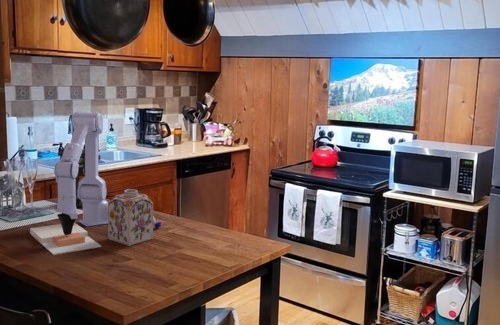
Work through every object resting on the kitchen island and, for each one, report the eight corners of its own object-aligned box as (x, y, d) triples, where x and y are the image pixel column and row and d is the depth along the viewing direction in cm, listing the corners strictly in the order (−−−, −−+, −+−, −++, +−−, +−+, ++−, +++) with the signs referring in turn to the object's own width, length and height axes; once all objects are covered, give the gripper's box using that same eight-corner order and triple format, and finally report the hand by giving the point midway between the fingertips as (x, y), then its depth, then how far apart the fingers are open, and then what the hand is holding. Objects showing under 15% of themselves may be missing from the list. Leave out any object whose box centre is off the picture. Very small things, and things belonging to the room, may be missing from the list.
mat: (88, 237, 188) (88, 236, 188) (101, 246, 179) (101, 245, 179) (42, 244, 179) (42, 243, 178) (53, 255, 169) (53, 253, 169)
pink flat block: (78, 237, 186) (78, 232, 186) (84, 242, 181) (84, 236, 181) (53, 241, 181) (52, 236, 180) (58, 246, 176) (58, 241, 176)
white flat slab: (74, 227, 199) (73, 222, 199) (87, 237, 189) (87, 231, 188) (30, 233, 190) (29, 228, 189) (41, 244, 179) (41, 238, 179)
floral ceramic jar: (132, 232, 196) (132, 185, 193) (154, 239, 190) (154, 190, 187) (106, 239, 187) (106, 190, 184) (128, 246, 180) (128, 195, 177)
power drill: (99, 207, 229) (99, 151, 225) (59, 208, 226) (58, 150, 222) (101, 202, 238) (101, 148, 234) (62, 202, 235) (61, 147, 231)
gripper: (48, 192, 182) (49, 230, 185) (62, 201, 171) (62, 241, 173) (68, 190, 187) (69, 227, 189) (83, 199, 175) (83, 238, 178)
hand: (67, 234), depth 181 cm, fingers closed
